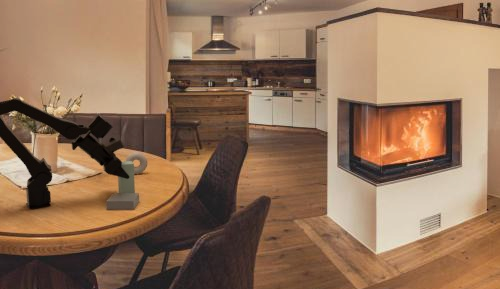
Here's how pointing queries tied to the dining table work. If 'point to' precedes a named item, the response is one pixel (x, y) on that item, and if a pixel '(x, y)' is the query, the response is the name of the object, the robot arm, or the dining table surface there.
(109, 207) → the slate plinth
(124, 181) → the sage green block
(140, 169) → the donut
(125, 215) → the dining table surface
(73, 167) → the dining table surface
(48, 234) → the dining table surface
